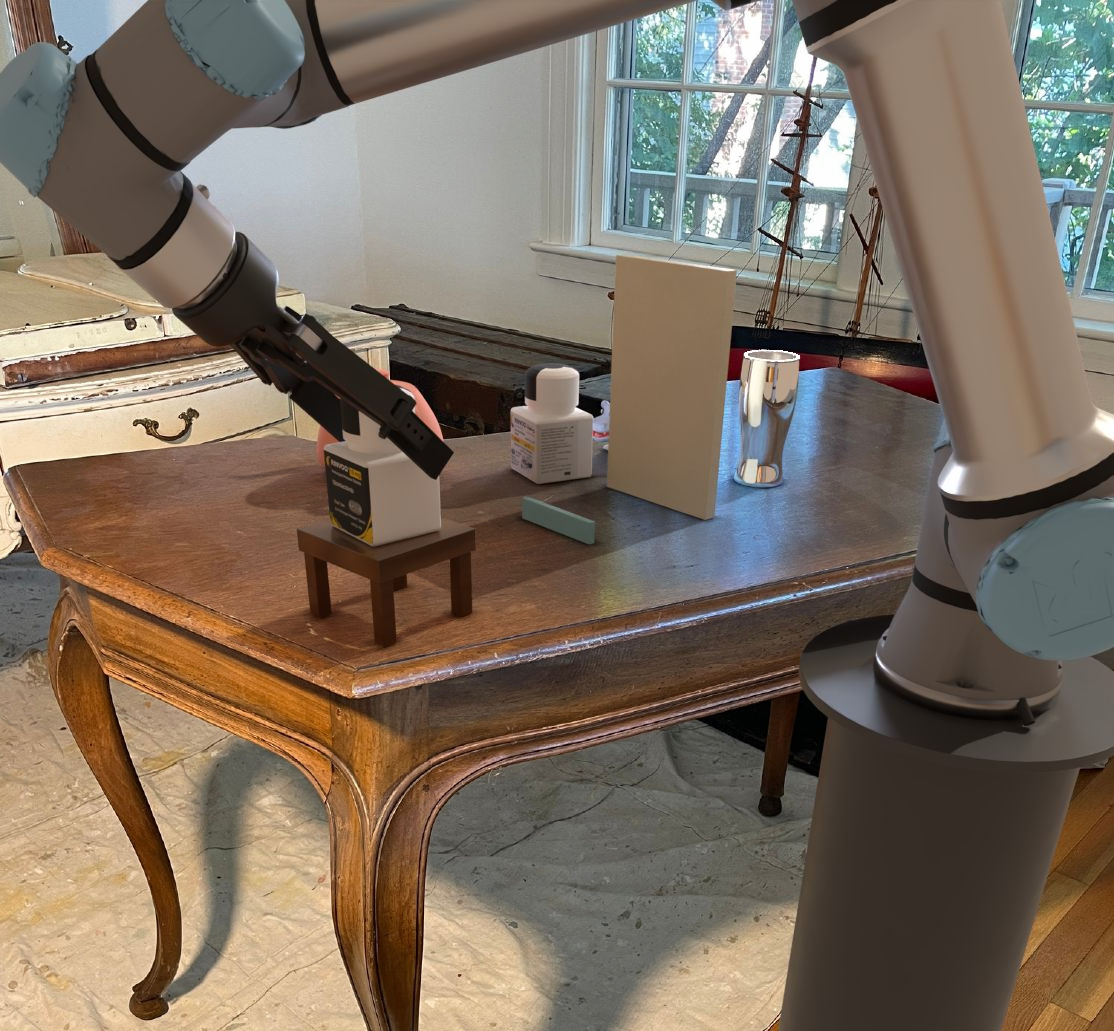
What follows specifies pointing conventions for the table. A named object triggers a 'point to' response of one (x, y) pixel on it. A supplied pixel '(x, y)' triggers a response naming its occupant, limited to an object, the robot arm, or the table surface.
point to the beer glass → (765, 415)
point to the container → (551, 427)
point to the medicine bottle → (377, 485)
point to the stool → (386, 568)
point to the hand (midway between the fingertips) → (394, 447)
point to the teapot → (420, 410)
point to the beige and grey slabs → (662, 389)
